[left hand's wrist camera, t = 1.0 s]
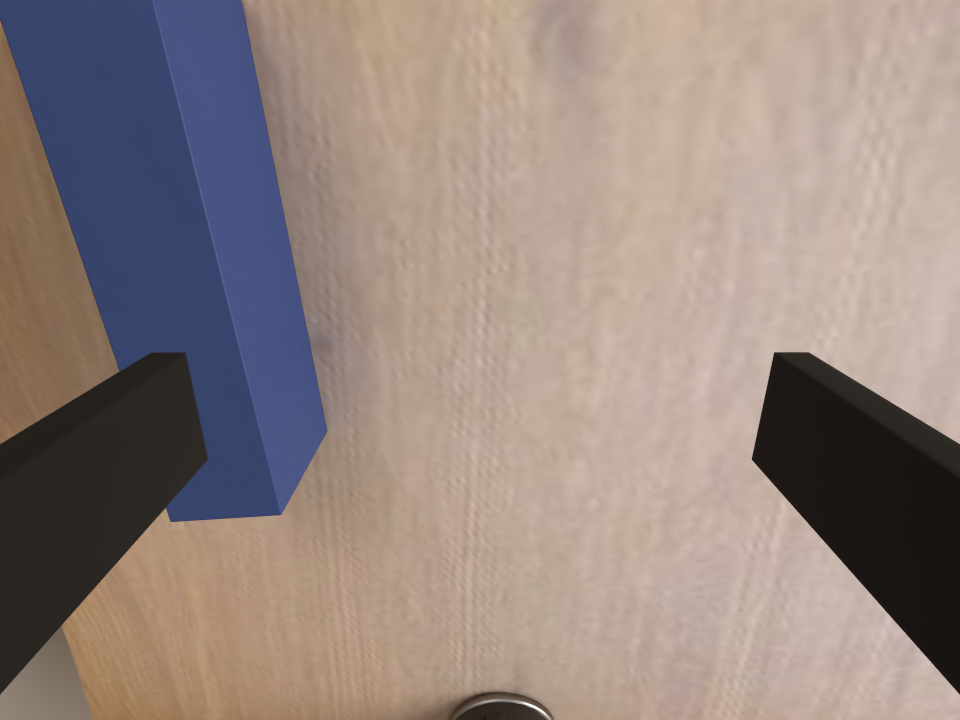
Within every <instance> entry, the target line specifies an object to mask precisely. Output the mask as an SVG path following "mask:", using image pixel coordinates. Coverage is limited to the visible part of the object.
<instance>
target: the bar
mask: <svg viewBox="0 0 960 720" xmlns="http://www.w3.org/2000/svg"><path fill="white" fill-rule="evenodd" d="M0 20H1V23H2V26H3V29H4V32H5V35H6V38H7V41H8V44H9V47H10V50H11V53H12V56H13V59H14V62H15V64H16V67H17V70H18V73H19V76H20V79H21V82H22V85H23V88H24V91H25V94H26V97H27V100H28V103H29V106H30V109H31V112H32V115H33V117H34V120H35V123H36V126H37V129H38V132H39V135H40V138H41V141H42V144H43V147H44V150H45V153H46V156H47V159H48V162H49V165H50V168H51V171H52V173H53V176H54V179H55V182H56V185H57V188H58V191H59V194H60V197H61V200H62V203H63V206H64V209H65V212H66V215H67V218H68V221H69V224H70V226H71V229H72V232H73V235H74V238H75V241H76V244H77V247H78V250H79V253H80V256H81V259H82V262H83V265H84V268H85V271H86V274H87V277H88V279H89V282H90V285H91V288H92V291H93V294H94V297H95V300H96V303H97V306H98V309H99V312H100V315H101V318H102V321H103V324H104V327H105V330H106V332H107V335H108V338H109V341H110V344H111V347H112V350H113V353H114V356H115V359H116V362H117V365H118V368H119V371H122V370H123V369H125V368H127V367H128V366H130V365H132V364H133V363H135V362H136V361H138V360H140V359H141V358H143V357H145V356H146V355H148V354H150V353H151V352H186V356H187V361H188V366H189V370H190V375H191V380H192V385H193V390H194V394H195V399H196V404H197V409H198V413H199V418H200V423H201V428H202V432H203V437H204V442H205V447H206V451H207V456H208V460H207V461H206V463H205V464H204V465H203V466H202V467H201V468H200V469H199V471H198V472H197V473H196V474H195V475H194V476H193V477H192V478H191V480H190V481H189V482H188V483H187V484H186V485H185V486H184V487H183V489H182V490H181V491H180V492H179V493H178V494H177V495H176V496H175V498H174V499H173V500H172V501H171V502H170V503H169V504H168V506H167V507H166V509H167V512H168V515H169V518H170V521H171V522H178V521H194V520H210V519H225V518H241V517H257V516H273V515H281V514H282V513H283V511H284V509H285V507H286V505H287V503H288V502H289V500H290V498H291V496H292V494H293V493H294V491H295V489H296V487H297V485H298V483H299V482H300V480H301V478H302V476H303V474H304V472H305V471H306V469H307V467H308V465H309V463H310V462H311V460H312V458H313V456H314V454H315V452H316V451H317V449H318V447H319V445H320V443H321V442H322V440H323V438H324V436H325V434H326V432H327V428H326V423H325V418H324V413H323V408H322V403H321V398H320V393H319V388H318V383H317V378H316V373H315V368H314V363H313V358H312V353H311V348H310V343H309V338H308V333H307V328H306V323H305V318H304V313H303V308H302V302H301V297H300V292H299V287H298V282H297V277H296V272H295V267H294V262H293V257H292V252H291V247H290V242H289V237H288V232H287V227H286V222H285V217H284V212H283V207H282V202H281V197H280V192H279V187H278V182H277V177H276V172H275V167H274V162H273V157H272V152H271V147H270V142H269V137H268V132H267V127H266V121H265V116H264V111H263V106H262V101H261V96H260V91H259V86H258V81H257V76H256V71H255V66H254V61H253V56H252V51H251V46H250V41H249V36H248V31H247V26H246V21H245V16H244V11H243V6H242V1H241V0H0Z"/></svg>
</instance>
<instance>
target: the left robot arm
mask: <svg viewBox="0 0 960 720" xmlns="http://www.w3.org/2000/svg"><path fill="white" fill-rule="evenodd" d="M207 460H208V456H207V451H206V447H205V442H204V437H203V432H202V428H201V423H200V418H199V413H198V409H197V404H196V399H195V394H194V390H193V385H192V380H191V375H190V370H189V366H188V361H187V356H186V352H151V353H150V354H148V355H146V356H145V357H143V358H141V359H140V360H138V361H136V362H135V363H133V364H132V365H130V366H128V367H127V368H125V369H123V370H122V371H120V372H118V373H117V374H115V375H113V376H112V377H110V378H109V379H107V380H105V381H104V382H102V383H100V384H99V385H97V386H95V387H94V388H92V389H90V390H89V391H87V392H85V393H84V394H82V395H81V396H79V397H77V398H76V399H74V400H72V401H71V402H69V403H67V404H66V405H64V406H62V407H61V408H59V409H58V410H56V411H54V412H53V413H51V414H49V415H48V416H46V417H44V418H43V419H41V420H39V421H38V422H36V423H34V424H33V425H31V426H30V427H28V428H26V429H25V430H23V431H21V432H20V433H18V434H16V435H15V436H13V437H11V438H10V439H8V440H7V441H5V442H3V443H2V444H0V694H1V693H2V692H3V691H4V690H5V688H6V687H7V686H8V685H9V684H10V683H11V682H12V680H13V679H14V678H15V677H16V676H17V675H18V674H19V673H20V671H21V670H22V669H23V668H24V667H25V666H26V665H27V664H28V662H29V661H30V660H31V659H32V658H33V657H34V656H35V654H36V653H37V652H38V651H39V650H40V649H41V648H42V647H43V646H44V644H45V643H46V642H47V641H48V640H49V639H50V638H51V636H52V635H53V634H54V633H55V632H56V631H57V630H58V629H59V627H60V626H61V625H62V624H63V623H64V622H65V621H66V620H67V618H68V617H69V616H70V615H71V614H72V613H73V612H74V611H75V609H76V608H77V607H78V606H79V605H80V604H81V603H82V601H83V600H84V599H85V598H86V597H87V596H88V595H89V594H90V592H91V591H92V590H93V589H94V588H95V587H96V586H97V585H98V583H99V582H100V581H101V580H102V579H103V578H104V577H105V576H106V574H107V573H108V572H109V571H110V570H111V569H112V568H113V566H114V565H115V564H116V563H117V562H118V561H119V560H120V559H121V557H122V556H123V555H124V554H125V553H126V552H127V551H128V550H129V548H130V547H131V546H132V545H133V544H134V543H135V542H136V541H137V539H138V538H139V537H140V536H141V535H142V534H143V533H144V531H145V530H146V529H147V528H148V527H149V526H150V525H151V524H152V522H153V521H154V520H155V519H156V518H157V517H158V516H159V515H160V513H161V512H162V511H163V510H164V509H165V508H166V507H167V506H168V504H169V503H170V502H171V501H172V500H173V499H174V498H175V496H176V495H177V494H178V493H179V492H180V491H181V490H182V489H183V487H184V486H185V485H186V484H187V483H188V482H189V481H190V480H191V478H192V477H193V476H194V475H195V474H196V473H197V472H198V471H199V469H200V468H201V467H202V466H203V465H204V464H205V463H206V461H207ZM752 460H753V461H754V463H755V464H756V465H757V466H758V467H759V468H760V469H761V471H762V472H763V473H764V474H765V475H766V476H767V477H768V478H769V480H770V481H771V482H772V483H773V484H774V485H775V486H776V487H777V489H778V490H779V491H780V492H781V493H782V494H783V495H784V496H785V498H786V499H787V500H788V501H789V502H790V503H791V504H792V506H793V507H794V508H795V509H796V510H797V511H798V512H799V513H800V515H801V516H802V517H803V518H804V519H805V520H806V521H807V522H808V524H809V525H810V526H811V527H812V528H813V529H814V530H815V531H816V533H817V534H818V535H819V536H820V537H821V538H822V539H823V541H824V542H825V543H826V544H827V545H828V546H829V547H830V548H831V550H832V551H833V552H834V553H835V554H836V555H837V556H838V557H839V559H840V560H841V561H842V562H843V563H844V564H845V565H846V566H847V568H848V569H849V570H850V571H851V572H852V573H853V574H854V576H855V577H856V578H857V579H858V580H859V581H860V582H861V583H862V585H863V586H864V587H865V588H866V589H867V590H868V591H869V592H870V594H871V595H872V596H873V597H874V598H875V599H876V600H877V601H878V603H879V604H880V605H881V606H882V607H883V608H884V609H885V611H886V612H887V613H888V614H889V615H890V616H891V617H892V618H893V620H894V621H895V622H896V623H897V624H898V625H899V626H900V627H901V629H902V630H903V631H904V632H905V633H906V634H907V635H908V636H909V638H910V639H911V640H912V641H913V642H914V643H915V644H916V646H917V647H918V648H919V649H920V650H921V651H922V652H923V653H924V655H925V656H926V657H927V658H928V659H929V660H930V661H931V662H932V664H933V665H934V666H935V667H936V668H937V669H938V670H939V671H940V673H941V674H942V675H943V676H944V677H945V678H946V679H947V681H948V682H949V683H950V684H951V685H952V686H953V687H954V688H955V690H956V691H957V692H958V693H959V694H960V444H958V443H957V442H955V441H953V440H952V439H950V438H949V437H947V436H945V435H944V434H942V433H940V432H939V431H937V430H935V429H934V428H932V427H930V426H929V425H927V424H926V423H924V422H922V421H921V420H919V419H917V418H916V417H914V416H912V415H911V414H909V413H907V412H906V411H904V410H902V409H901V408H899V407H898V406H896V405H894V404H893V403H891V402H889V401H888V400H886V399H884V398H883V397H881V396H879V395H878V394H876V393H875V392H873V391H871V390H870V389H868V388H866V387H865V386H863V385H861V384H860V383H858V382H856V381H855V380H853V379H851V378H850V377H848V376H847V375H845V374H843V373H842V372H840V371H838V370H837V369H835V368H833V367H832V366H830V365H828V364H827V363H825V362H824V361H822V360H820V359H819V358H817V357H815V356H814V355H812V354H810V353H809V352H774V356H773V361H772V366H771V370H770V375H769V380H768V385H767V389H766V394H765V399H764V404H763V409H762V413H761V418H760V423H759V428H758V432H757V437H756V442H755V447H754V451H753V456H752Z"/></svg>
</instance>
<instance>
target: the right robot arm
mask: <svg viewBox="0 0 960 720" xmlns="http://www.w3.org/2000/svg"><path fill="white" fill-rule="evenodd" d="M449 720H554V719H553V717H552V715H551V714H550V712H549V711H548V710H547V709H546V708H545V707H544V706H543V705H541V704H540V703H538V702H537V701H535V700H533V699H530V698H528V697H525V696H522V695H517V694H511V693H493V694H486V695H482V696H478V697H476V698H473V699H471V700H469V701H467V702H465V703H463V704H462V705H461V706H459V707H458V708H457V709H456V710H455V711H454V712H453V713H452V715H451V716H450V718H449Z"/></svg>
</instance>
